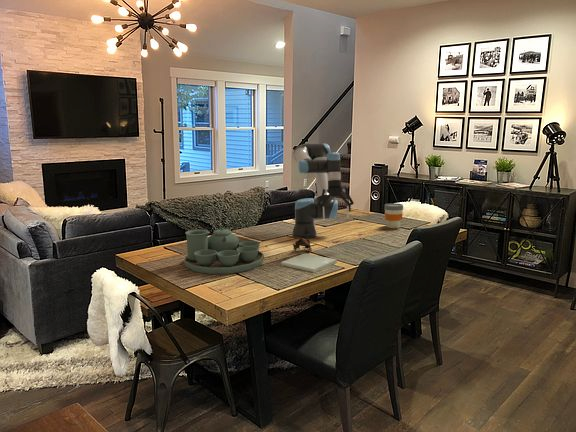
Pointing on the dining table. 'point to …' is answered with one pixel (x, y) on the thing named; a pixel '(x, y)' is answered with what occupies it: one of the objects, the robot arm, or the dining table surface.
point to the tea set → (220, 252)
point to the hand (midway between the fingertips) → (336, 218)
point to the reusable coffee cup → (393, 215)
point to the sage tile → (309, 262)
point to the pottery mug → (302, 244)
